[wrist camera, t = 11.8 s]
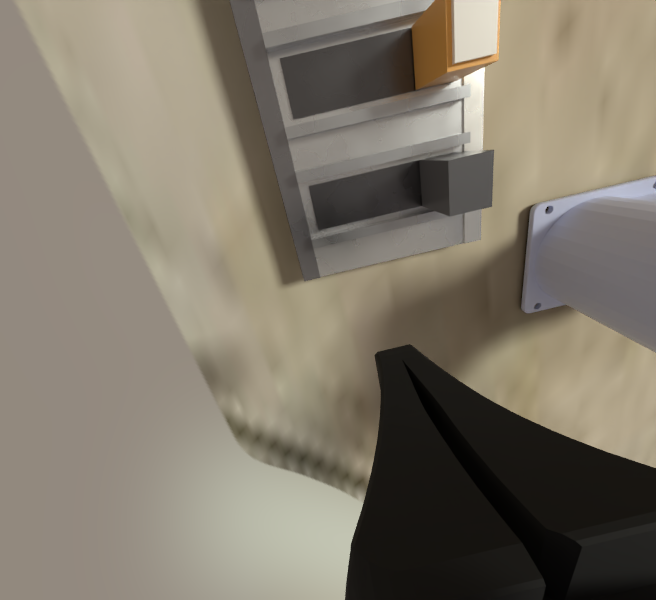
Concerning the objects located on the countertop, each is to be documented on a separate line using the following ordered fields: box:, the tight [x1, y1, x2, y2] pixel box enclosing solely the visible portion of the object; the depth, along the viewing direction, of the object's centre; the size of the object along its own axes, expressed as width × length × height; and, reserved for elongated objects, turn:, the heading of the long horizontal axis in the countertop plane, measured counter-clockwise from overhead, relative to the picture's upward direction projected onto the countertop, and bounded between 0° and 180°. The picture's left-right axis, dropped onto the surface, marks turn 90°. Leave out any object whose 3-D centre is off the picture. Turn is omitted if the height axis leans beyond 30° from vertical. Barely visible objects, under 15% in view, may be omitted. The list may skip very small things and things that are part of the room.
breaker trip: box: [412, 0, 501, 90], centre depth 12 cm, size 2×2×4 cm
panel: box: [230, 0, 484, 281], centre depth 14 cm, size 11×19×2 cm, turn 12°
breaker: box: [419, 150, 494, 216], centre depth 15 cm, size 2×2×3 cm
